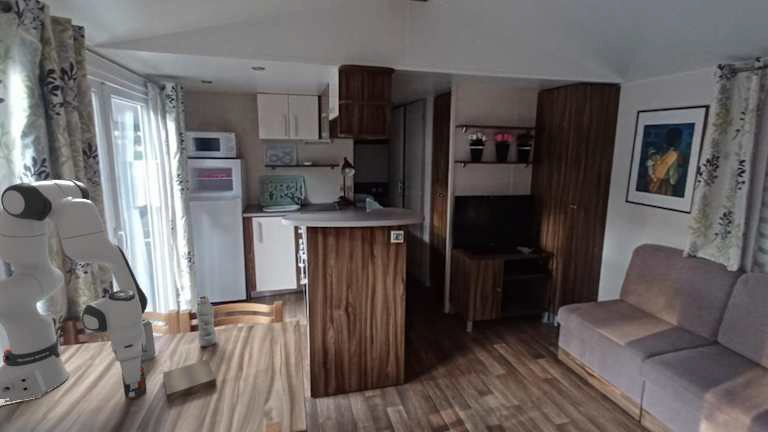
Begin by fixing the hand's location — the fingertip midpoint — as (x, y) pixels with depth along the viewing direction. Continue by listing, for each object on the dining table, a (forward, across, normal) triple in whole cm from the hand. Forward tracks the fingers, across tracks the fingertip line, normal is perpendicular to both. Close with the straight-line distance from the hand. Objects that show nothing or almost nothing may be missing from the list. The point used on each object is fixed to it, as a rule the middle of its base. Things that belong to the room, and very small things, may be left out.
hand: (134, 381), depth 120 cm
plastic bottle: (+5, -20, +25) cm, 32 cm away
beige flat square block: (+5, +4, +15) cm, 16 cm away
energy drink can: (+5, -23, +4) cm, 24 cm away
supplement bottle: (+5, 0, 0) cm, 5 cm away
